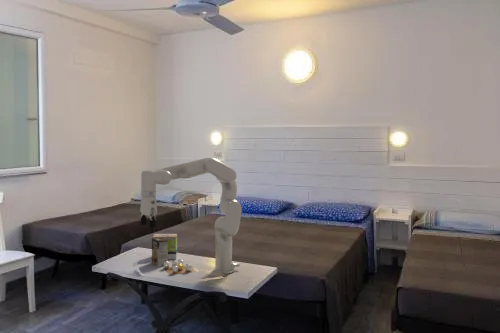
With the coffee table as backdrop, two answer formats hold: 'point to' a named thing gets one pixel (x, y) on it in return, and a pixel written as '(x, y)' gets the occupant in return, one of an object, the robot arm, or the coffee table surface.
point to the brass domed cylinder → (180, 267)
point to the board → (181, 271)
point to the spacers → (175, 267)
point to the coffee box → (159, 251)
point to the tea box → (169, 244)
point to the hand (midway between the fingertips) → (148, 226)
